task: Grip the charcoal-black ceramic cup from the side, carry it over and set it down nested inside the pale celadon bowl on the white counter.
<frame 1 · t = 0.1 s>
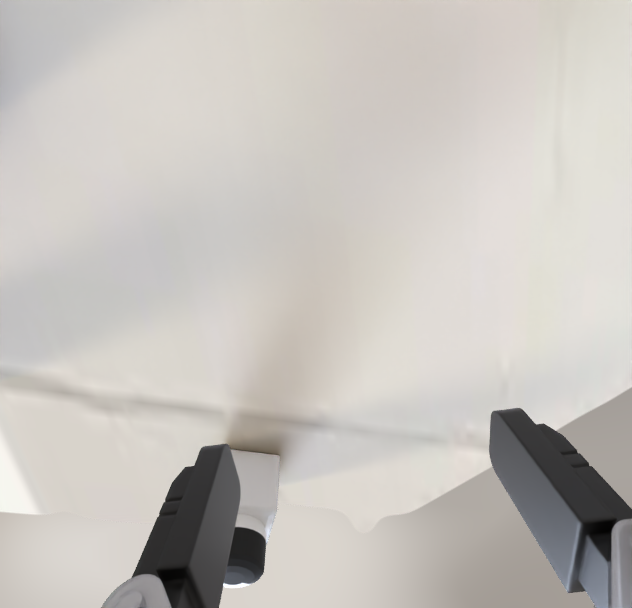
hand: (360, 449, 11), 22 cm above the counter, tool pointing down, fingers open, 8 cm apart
medicine bottle: (248, 467, 46), on the counter
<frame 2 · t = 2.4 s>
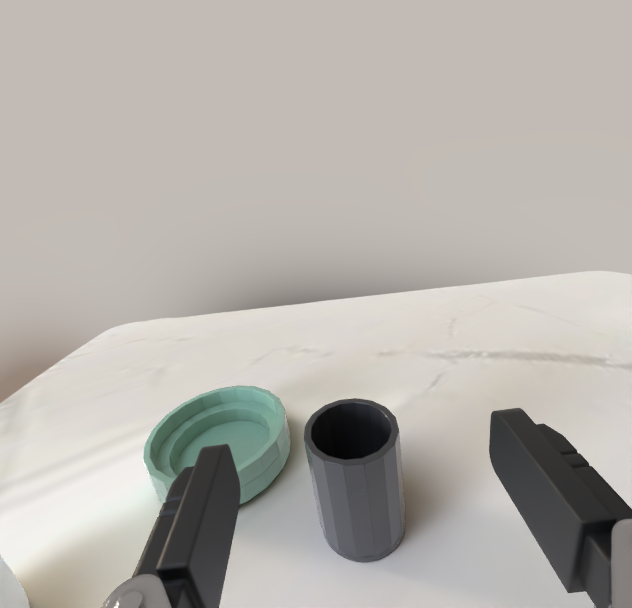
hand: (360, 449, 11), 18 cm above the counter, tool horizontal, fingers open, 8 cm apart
bowl: (226, 458, 36), on the counter
cup: (362, 519, 28), on the counter
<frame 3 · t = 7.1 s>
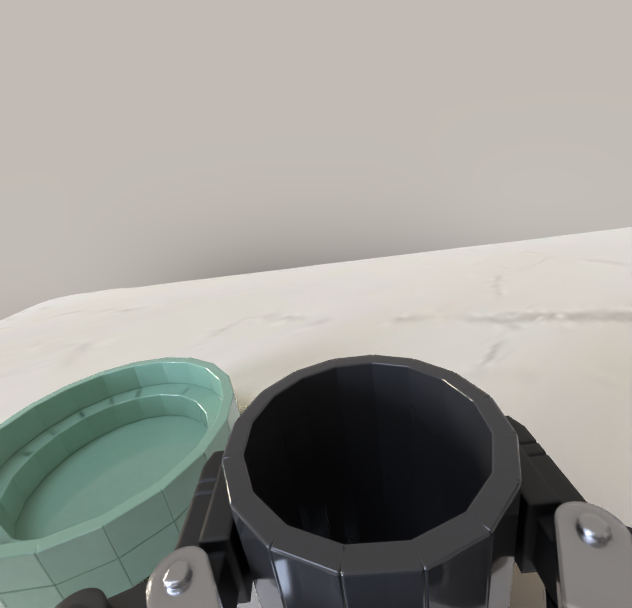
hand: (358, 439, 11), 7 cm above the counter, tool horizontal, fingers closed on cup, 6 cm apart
bowl: (128, 483, 20), on the counter
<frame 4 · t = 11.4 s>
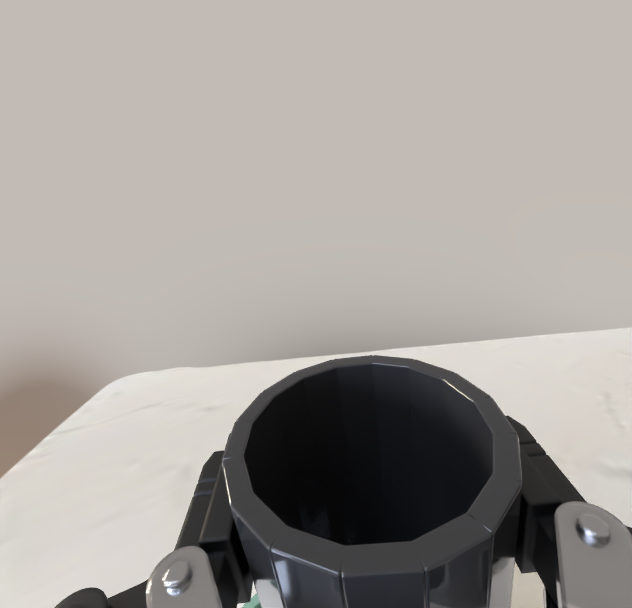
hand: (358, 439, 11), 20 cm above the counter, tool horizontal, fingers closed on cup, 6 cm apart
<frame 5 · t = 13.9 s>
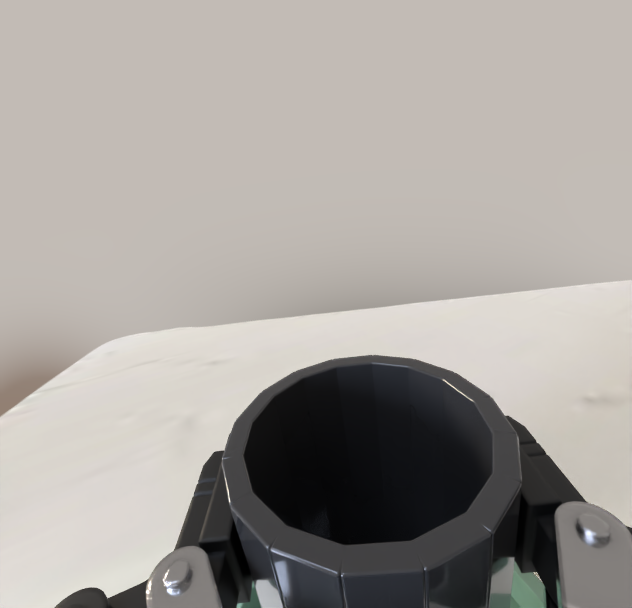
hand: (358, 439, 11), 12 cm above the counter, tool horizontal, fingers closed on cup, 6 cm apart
when the fingers open (7 cm above the counter, at t = 15.9 s): cup stays where it is, resting on bowl.
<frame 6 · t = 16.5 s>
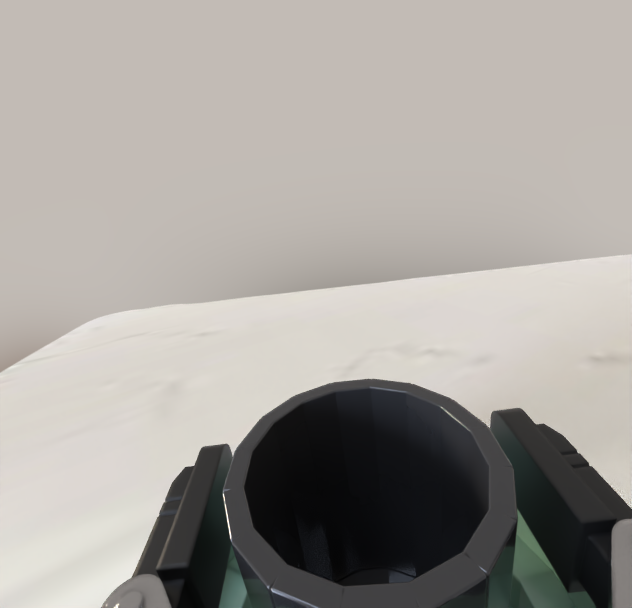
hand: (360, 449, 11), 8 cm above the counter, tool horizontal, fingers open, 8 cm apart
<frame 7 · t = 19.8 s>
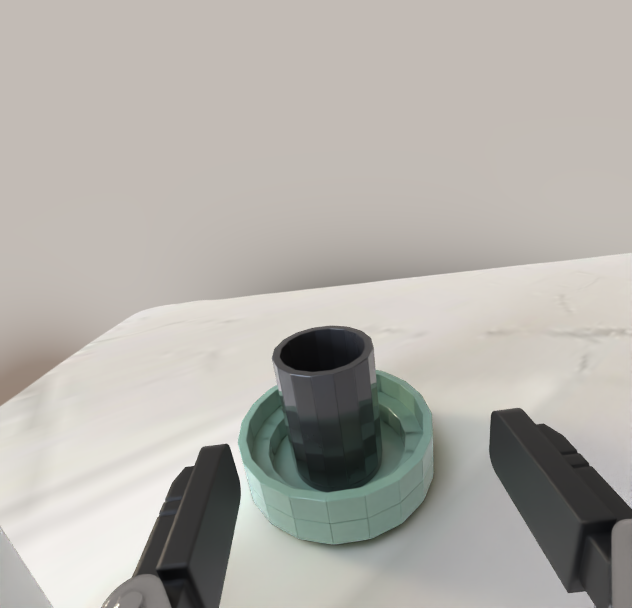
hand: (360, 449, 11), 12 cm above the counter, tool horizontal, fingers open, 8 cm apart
bowl: (339, 460, 27), on the counter
cup: (338, 455, 26), point 1 cm above the counter, touching bowl
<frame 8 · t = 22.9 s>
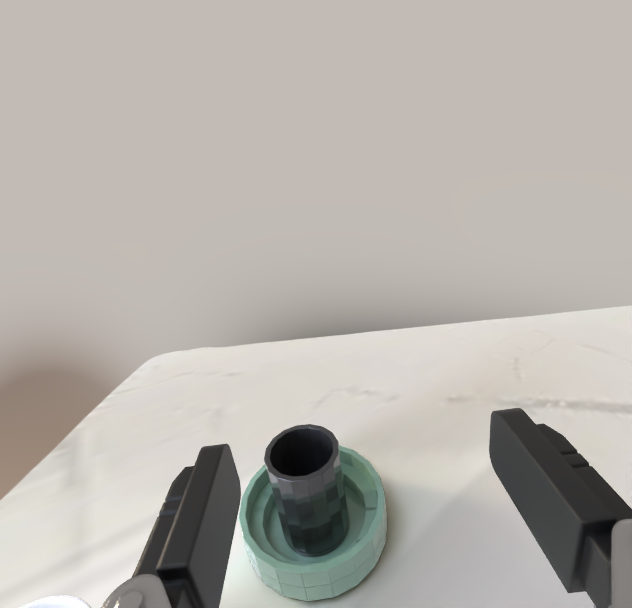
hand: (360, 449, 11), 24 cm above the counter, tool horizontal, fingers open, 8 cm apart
bowl: (317, 526, 35), on the counter
cup: (315, 523, 34), point 1 cm above the counter, touching bowl
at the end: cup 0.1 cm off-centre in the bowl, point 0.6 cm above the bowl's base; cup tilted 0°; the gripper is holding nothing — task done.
